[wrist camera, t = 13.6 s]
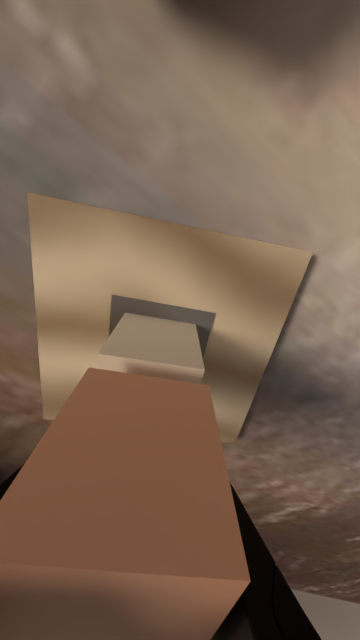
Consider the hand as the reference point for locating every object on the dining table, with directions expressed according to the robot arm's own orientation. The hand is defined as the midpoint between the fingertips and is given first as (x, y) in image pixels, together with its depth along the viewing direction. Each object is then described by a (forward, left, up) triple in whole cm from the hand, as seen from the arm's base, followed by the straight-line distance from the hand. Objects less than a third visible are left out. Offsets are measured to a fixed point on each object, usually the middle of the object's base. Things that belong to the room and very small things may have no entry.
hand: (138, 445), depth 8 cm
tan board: (0, 0, -8) cm, 8 cm away
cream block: (0, 0, -7) cm, 7 cm away
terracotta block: (0, 0, -1) cm, 1 cm away
